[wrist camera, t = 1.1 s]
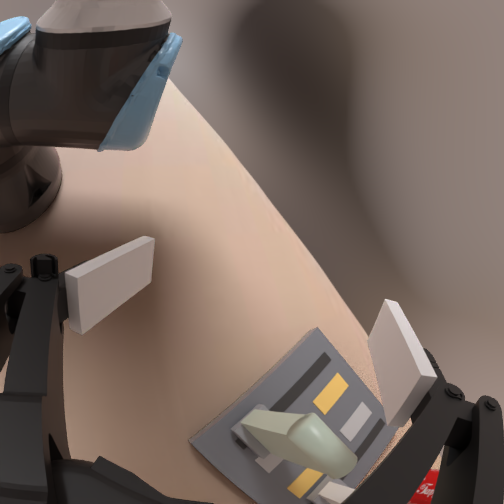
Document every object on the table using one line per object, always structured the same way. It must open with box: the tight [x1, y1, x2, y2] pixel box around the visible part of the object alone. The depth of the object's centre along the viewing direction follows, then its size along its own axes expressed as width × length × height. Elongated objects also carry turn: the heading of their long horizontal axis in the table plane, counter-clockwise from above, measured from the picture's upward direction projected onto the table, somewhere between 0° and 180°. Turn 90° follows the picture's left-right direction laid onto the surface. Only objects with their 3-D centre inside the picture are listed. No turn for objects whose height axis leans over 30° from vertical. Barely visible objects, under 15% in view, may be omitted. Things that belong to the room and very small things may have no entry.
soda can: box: [407, 469, 439, 504], centre depth 25 cm, size 6×6×12 cm
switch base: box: [188, 327, 399, 504], centre depth 29 cm, size 20×20×2 cm
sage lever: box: [230, 404, 357, 479], centre depth 21 cm, size 4×5×13 cm
